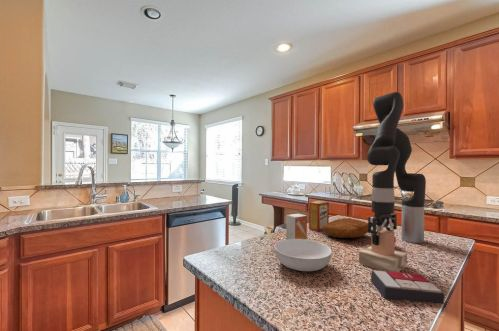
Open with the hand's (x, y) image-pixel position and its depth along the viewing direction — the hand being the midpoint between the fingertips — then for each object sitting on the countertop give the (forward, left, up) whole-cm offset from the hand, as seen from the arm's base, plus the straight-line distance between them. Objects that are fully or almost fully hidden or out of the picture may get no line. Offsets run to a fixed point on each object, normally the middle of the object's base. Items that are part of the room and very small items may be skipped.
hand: (382, 242), depth 90 cm
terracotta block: (0, 0, -4) cm, 4 cm away
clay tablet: (-18, -30, -8) cm, 36 cm away
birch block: (0, 0, -8) cm, 8 cm away
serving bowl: (+27, -14, -8) cm, 32 cm away
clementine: (-21, -11, -8) cm, 25 cm away
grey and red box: (+13, +14, -9) cm, 21 cm away
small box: (+11, -36, -8) cm, 39 cm away
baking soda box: (-16, -48, -8) cm, 51 cm away
